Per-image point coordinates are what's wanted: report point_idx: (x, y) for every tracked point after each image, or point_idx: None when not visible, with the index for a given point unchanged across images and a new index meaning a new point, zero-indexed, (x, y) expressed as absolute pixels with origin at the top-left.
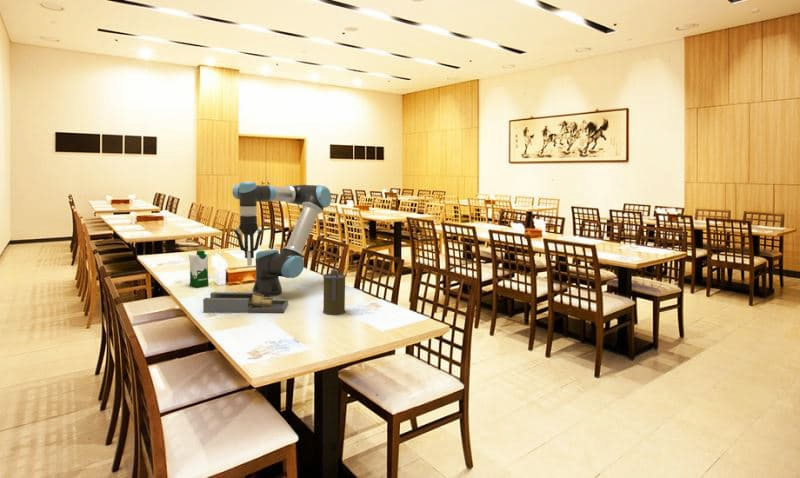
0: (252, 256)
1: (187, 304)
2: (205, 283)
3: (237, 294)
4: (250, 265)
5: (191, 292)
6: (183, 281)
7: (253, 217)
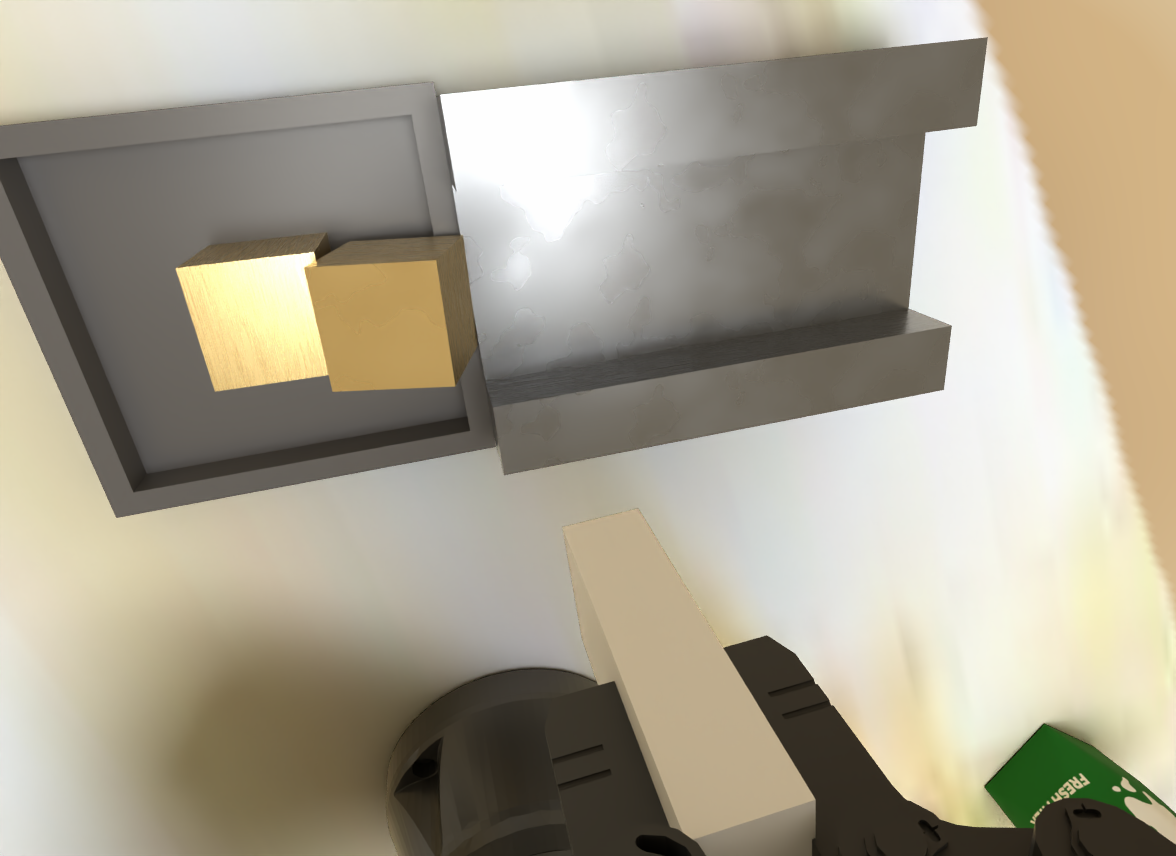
0: (575, 742)
1: (1057, 308)
2: (1017, 786)
3: (671, 373)
4: (567, 527)
5: (1067, 623)
6: None
7: None
